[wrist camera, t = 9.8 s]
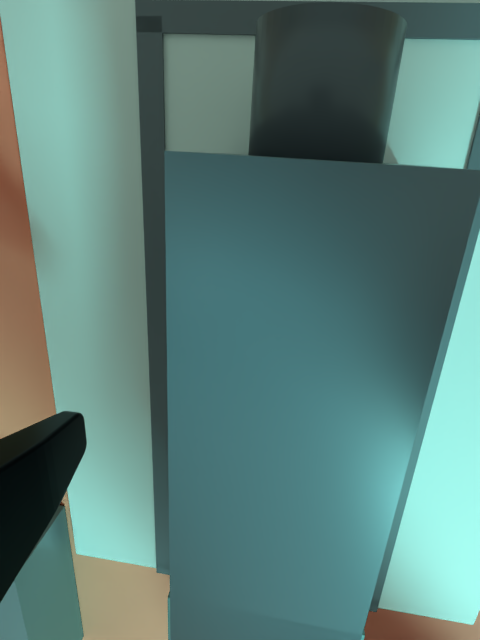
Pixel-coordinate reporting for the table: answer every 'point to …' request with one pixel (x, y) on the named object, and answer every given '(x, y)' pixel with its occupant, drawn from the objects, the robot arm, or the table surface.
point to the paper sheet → (150, 254)
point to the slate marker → (301, 334)
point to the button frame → (44, 591)
